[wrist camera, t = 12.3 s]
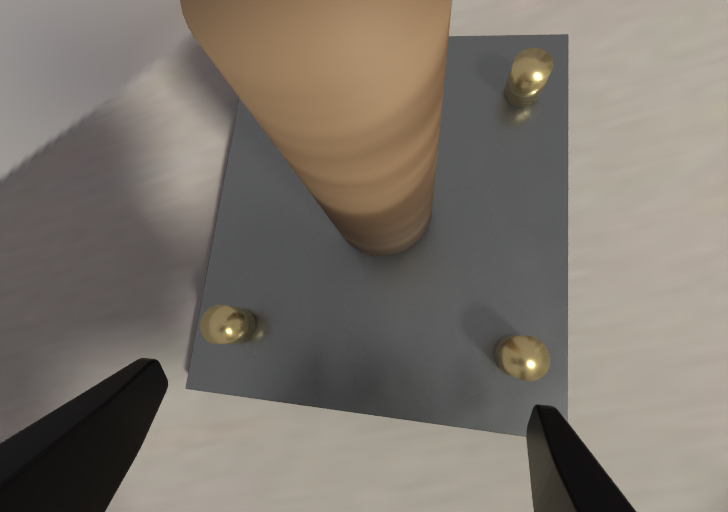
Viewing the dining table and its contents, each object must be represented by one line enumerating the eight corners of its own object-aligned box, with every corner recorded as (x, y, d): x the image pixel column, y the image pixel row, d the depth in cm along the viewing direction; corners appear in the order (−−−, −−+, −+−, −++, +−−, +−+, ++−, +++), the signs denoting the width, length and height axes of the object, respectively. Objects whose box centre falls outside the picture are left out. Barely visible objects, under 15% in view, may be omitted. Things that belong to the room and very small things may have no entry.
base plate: (558, 436, 16) (587, 456, 13) (198, 386, 18) (159, 394, 16) (560, 49, 19) (584, 2, 16) (257, 53, 22) (234, 12, 19)
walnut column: (424, 262, 17) (434, 93, 5) (325, 248, 18) (147, 73, 6) (438, 167, 18) (474, -159, 6) (343, 157, 19) (216, -149, 7)
